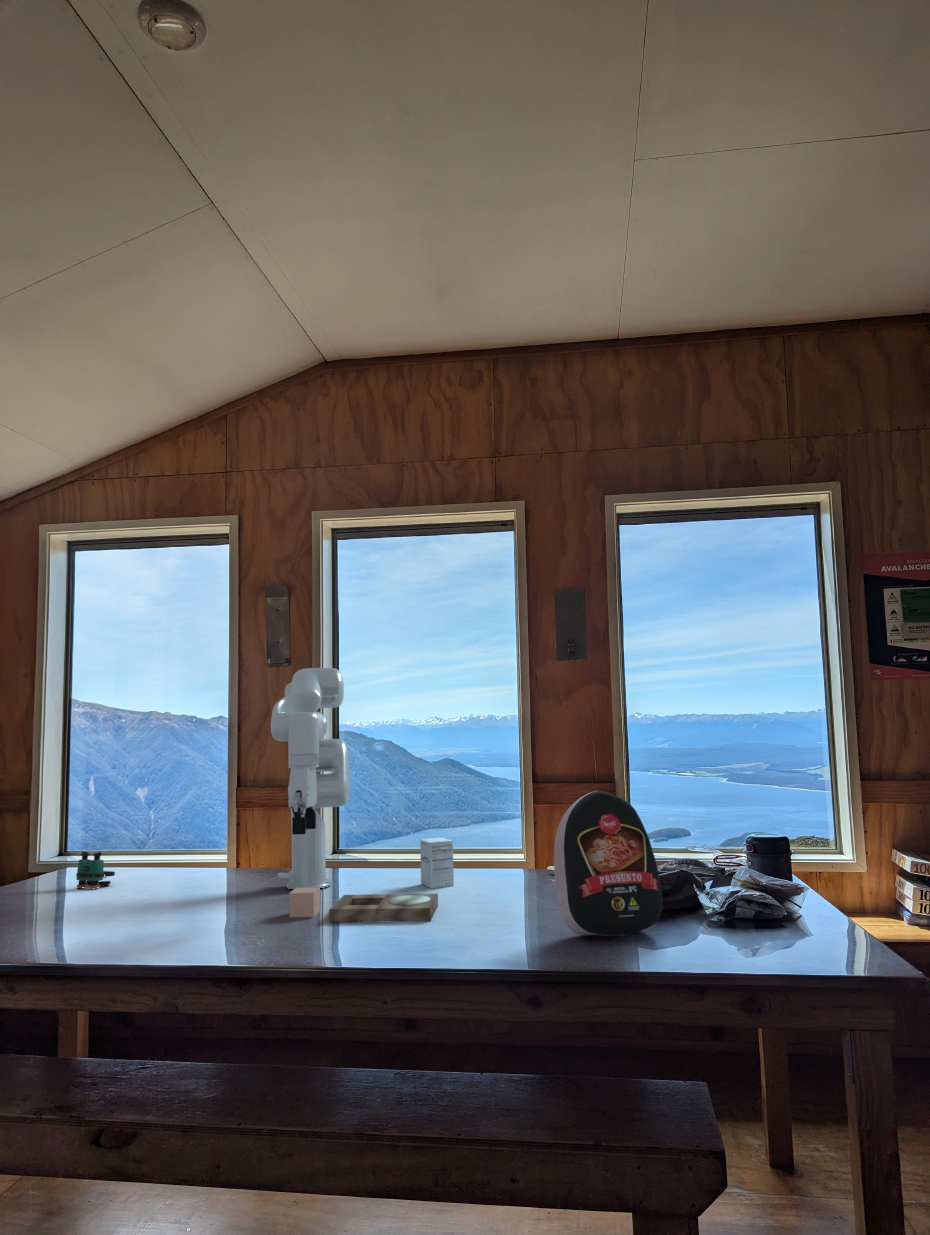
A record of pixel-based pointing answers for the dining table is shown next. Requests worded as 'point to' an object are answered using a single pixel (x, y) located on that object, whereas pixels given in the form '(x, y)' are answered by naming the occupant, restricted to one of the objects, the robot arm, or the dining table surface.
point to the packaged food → (605, 868)
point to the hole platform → (384, 907)
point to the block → (304, 902)
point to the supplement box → (437, 862)
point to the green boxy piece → (92, 871)
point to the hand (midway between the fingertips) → (304, 831)
